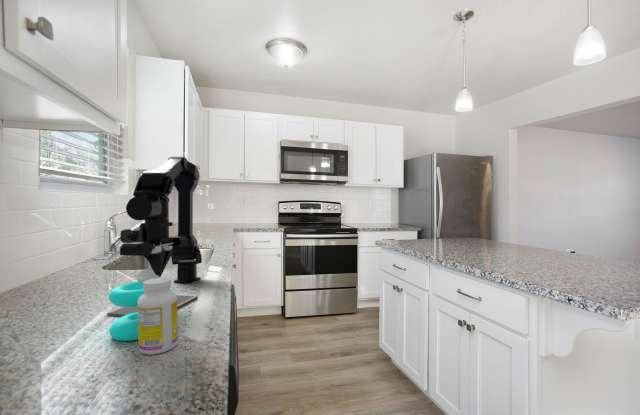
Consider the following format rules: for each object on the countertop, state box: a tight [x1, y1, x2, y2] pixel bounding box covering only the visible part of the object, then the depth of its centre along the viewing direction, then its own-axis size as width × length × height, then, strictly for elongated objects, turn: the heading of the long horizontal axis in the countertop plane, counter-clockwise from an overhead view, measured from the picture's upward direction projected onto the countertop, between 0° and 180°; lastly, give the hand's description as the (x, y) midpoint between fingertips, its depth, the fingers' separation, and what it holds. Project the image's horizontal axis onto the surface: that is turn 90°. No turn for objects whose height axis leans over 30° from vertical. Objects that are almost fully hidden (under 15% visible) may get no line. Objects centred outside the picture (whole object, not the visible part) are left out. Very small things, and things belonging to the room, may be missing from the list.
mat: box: [106, 294, 199, 318], centre depth 81 cm, size 16×14×1 cm
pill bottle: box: [136, 268, 161, 282], centre depth 79 cm, size 5×5×9 cm
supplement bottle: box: [137, 277, 179, 356], centre depth 58 cm, size 7×7×13 cm
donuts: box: [108, 281, 145, 342], centre depth 65 cm, size 10×10×10 cm
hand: (157, 277), depth 81 cm, fingers closed
